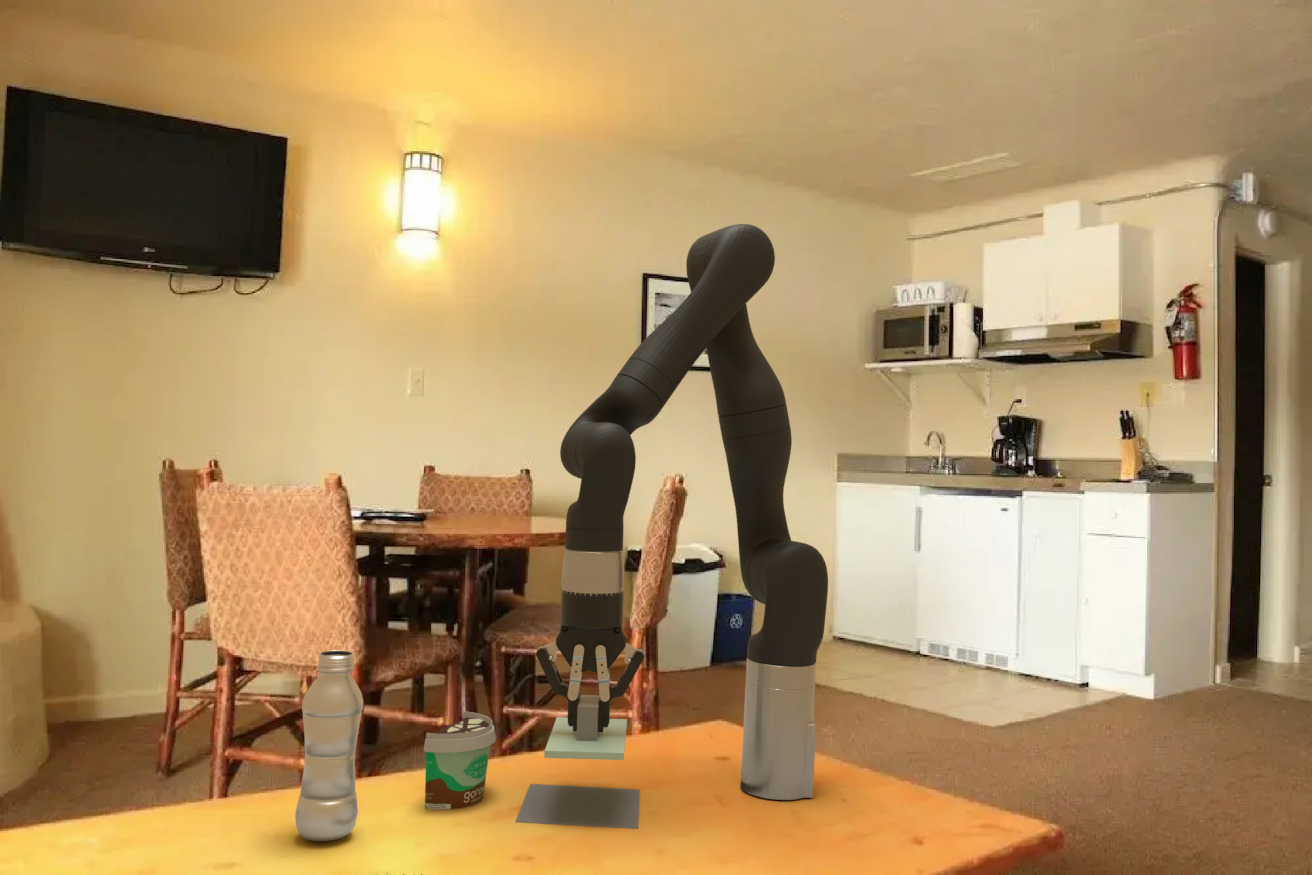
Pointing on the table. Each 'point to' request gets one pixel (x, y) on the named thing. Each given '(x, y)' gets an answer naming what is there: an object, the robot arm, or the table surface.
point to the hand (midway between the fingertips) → (588, 729)
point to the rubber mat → (580, 806)
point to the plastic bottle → (330, 750)
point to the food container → (458, 762)
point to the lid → (587, 735)
